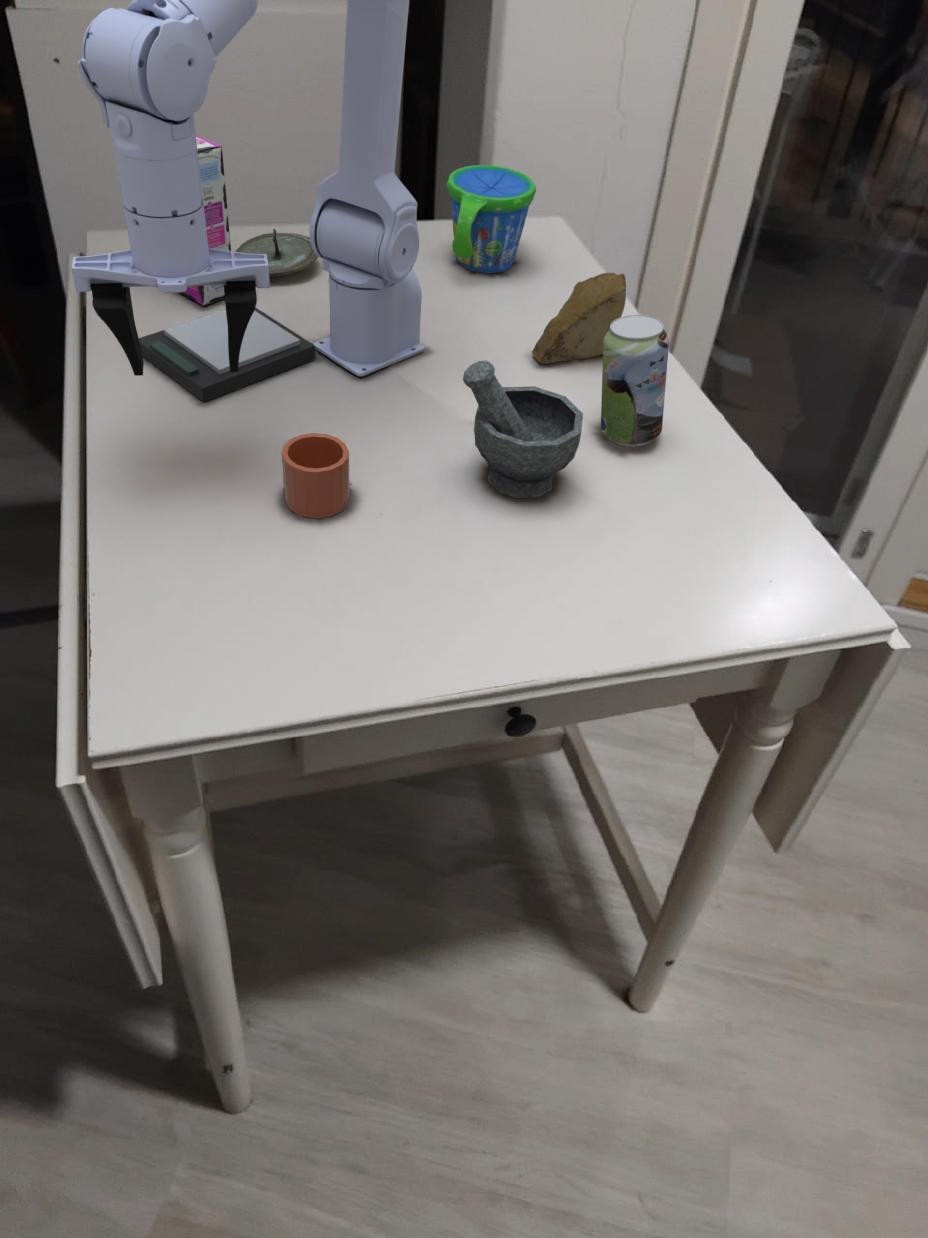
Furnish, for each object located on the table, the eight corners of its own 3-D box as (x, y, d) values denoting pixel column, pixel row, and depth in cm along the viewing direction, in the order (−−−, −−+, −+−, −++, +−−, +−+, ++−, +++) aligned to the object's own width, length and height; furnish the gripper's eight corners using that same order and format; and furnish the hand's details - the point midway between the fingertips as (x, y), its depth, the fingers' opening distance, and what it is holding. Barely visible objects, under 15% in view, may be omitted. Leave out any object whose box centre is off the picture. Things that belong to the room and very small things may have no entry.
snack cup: (489, 296, 114) (497, 211, 107) (416, 271, 118) (420, 187, 110) (548, 254, 124) (560, 174, 117) (479, 231, 128) (486, 152, 120)
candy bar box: (238, 294, 110) (224, 144, 98) (203, 308, 107) (185, 155, 95) (177, 261, 114) (158, 114, 103) (142, 273, 111) (118, 123, 100)
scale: (248, 315, 106) (247, 296, 105) (315, 358, 101) (315, 339, 99) (137, 352, 99) (134, 333, 97) (203, 402, 93) (201, 382, 92)
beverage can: (656, 459, 92) (686, 347, 84) (582, 445, 93) (604, 333, 85) (660, 425, 97) (688, 315, 88) (589, 412, 98) (610, 302, 89)
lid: (334, 281, 117) (339, 239, 114) (276, 286, 109) (280, 241, 107) (273, 257, 121) (277, 216, 119) (214, 260, 114) (216, 216, 111)
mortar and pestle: (559, 447, 93) (579, 334, 84) (583, 506, 86) (608, 391, 78) (446, 451, 91) (455, 336, 82) (462, 512, 84) (473, 394, 76)
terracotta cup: (322, 472, 87) (320, 425, 83) (361, 501, 84) (362, 454, 81) (272, 495, 84) (268, 448, 80) (312, 526, 81) (310, 479, 78)
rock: (533, 359, 100) (629, 354, 99) (531, 274, 99) (627, 269, 98) (530, 372, 110) (616, 367, 110) (528, 296, 109) (614, 291, 109)
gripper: (54, 225, 65) (92, 397, 75) (267, 224, 68) (278, 389, 78) (62, 186, 70) (97, 351, 80) (261, 186, 73) (272, 346, 83)
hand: (186, 367), depth 79 cm, fingers open, 7 cm apart
